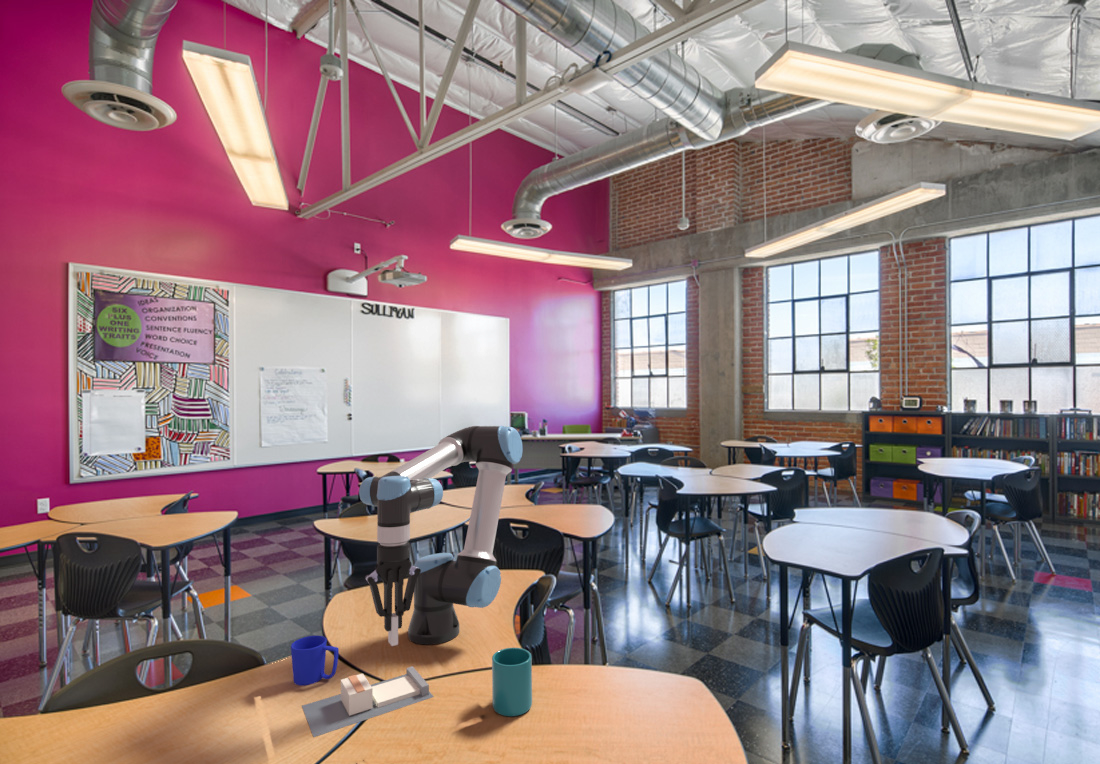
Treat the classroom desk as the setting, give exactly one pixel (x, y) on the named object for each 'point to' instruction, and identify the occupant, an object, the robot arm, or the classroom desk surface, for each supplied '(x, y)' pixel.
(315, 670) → the mug
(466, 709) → the classroom desk surface
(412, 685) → the clipboard
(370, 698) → the white box
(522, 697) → the cup
